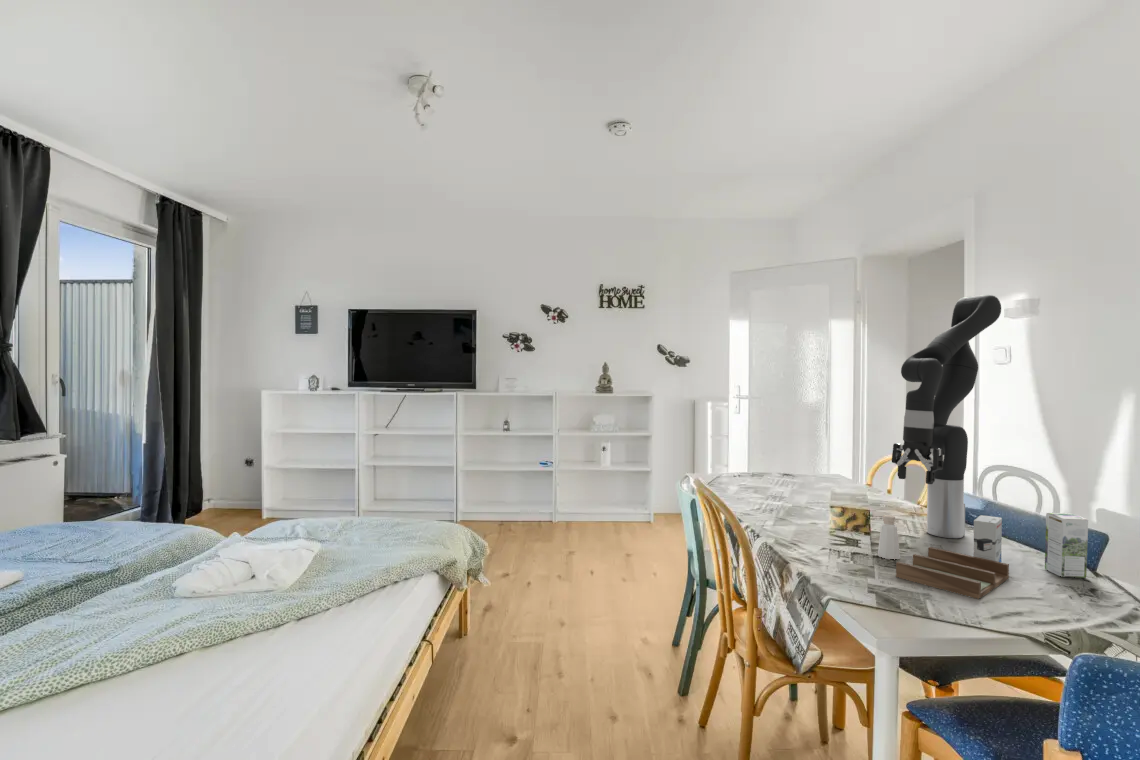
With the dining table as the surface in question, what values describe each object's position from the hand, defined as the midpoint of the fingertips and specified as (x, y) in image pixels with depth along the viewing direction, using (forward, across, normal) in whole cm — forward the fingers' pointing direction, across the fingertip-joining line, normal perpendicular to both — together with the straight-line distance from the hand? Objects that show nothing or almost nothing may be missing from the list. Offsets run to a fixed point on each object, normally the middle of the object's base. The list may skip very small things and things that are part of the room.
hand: (915, 481), depth 169 cm
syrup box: (+17, -34, -8) cm, 39 cm away
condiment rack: (+19, -25, +19) cm, 37 cm away
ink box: (+18, -22, +2) cm, 28 cm away
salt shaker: (+19, -8, +19) cm, 28 cm away
